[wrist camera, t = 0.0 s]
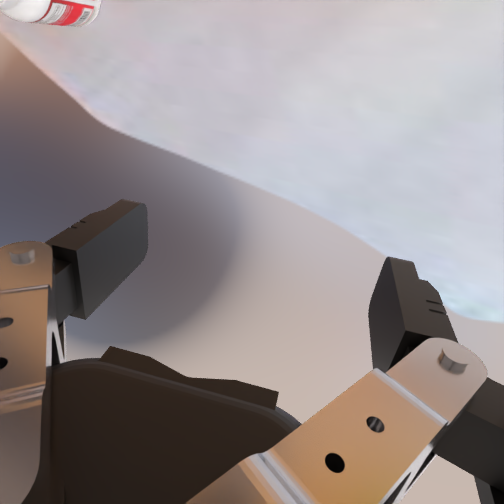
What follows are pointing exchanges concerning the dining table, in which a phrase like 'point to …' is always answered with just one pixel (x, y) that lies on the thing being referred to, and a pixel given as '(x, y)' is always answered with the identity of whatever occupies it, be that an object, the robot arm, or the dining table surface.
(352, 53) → the dining table surface
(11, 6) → the pill bottle
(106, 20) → the dining table surface
